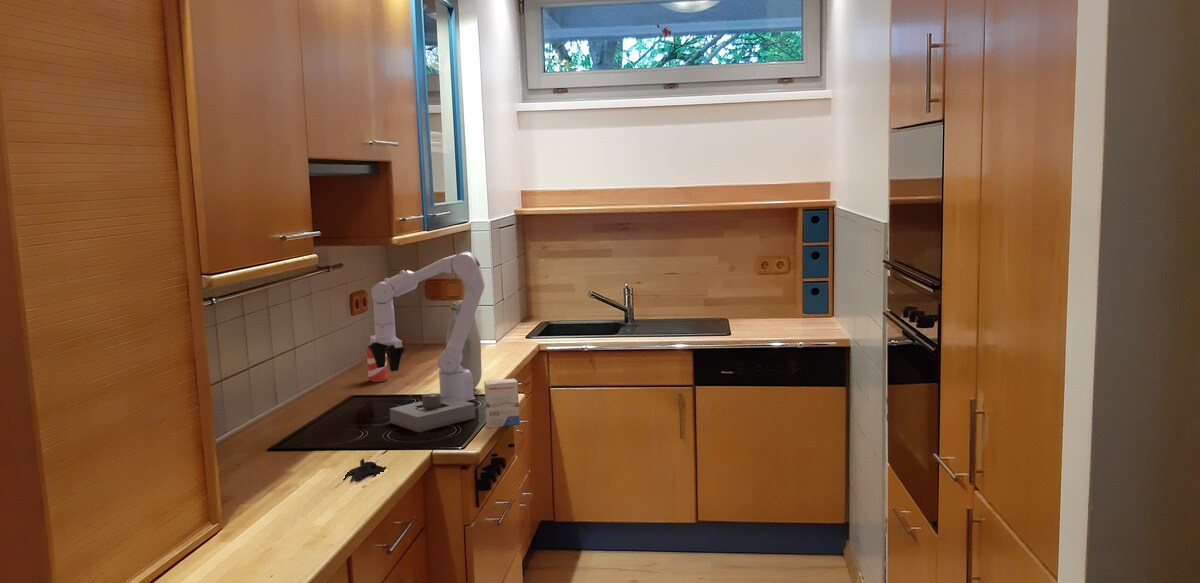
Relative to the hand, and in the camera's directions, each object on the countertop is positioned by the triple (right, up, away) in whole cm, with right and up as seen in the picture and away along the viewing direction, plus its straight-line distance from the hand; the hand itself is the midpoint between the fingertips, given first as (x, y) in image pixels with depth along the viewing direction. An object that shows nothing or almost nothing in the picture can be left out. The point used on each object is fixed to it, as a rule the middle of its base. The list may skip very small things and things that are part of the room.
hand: (387, 369), depth 268 cm
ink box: (+36, -13, -25) cm, 46 cm away
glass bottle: (+21, -8, +16) cm, 27 cm away
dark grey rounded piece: (+17, -11, -19) cm, 28 cm away
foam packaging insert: (+17, -12, -19) cm, 28 cm away
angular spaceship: (+9, -19, -64) cm, 67 cm away
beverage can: (-11, -7, +33) cm, 36 cm away
